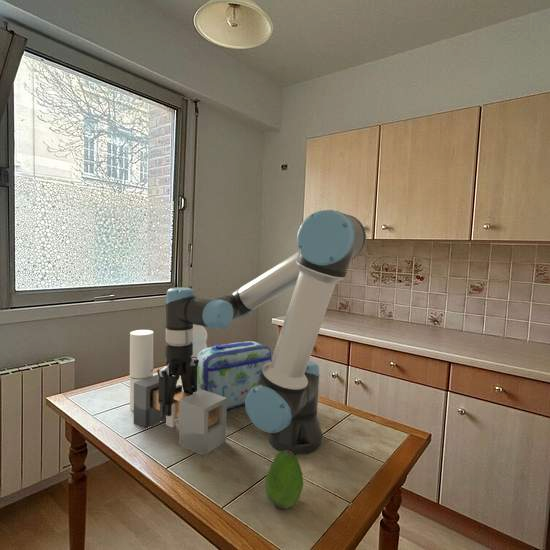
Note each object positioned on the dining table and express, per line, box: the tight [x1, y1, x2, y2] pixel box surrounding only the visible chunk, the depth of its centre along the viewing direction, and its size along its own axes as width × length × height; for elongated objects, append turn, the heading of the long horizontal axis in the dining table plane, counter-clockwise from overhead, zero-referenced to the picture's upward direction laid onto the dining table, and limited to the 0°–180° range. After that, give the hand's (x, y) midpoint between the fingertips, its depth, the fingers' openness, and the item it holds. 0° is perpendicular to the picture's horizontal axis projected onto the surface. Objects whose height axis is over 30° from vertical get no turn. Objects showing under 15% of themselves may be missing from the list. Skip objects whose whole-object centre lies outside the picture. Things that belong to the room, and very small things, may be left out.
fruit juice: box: [191, 324, 208, 359], centre depth 143 cm, size 9×9×28 cm
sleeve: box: [178, 390, 228, 457], centre depth 101 cm, size 9×9×13 cm
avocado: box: [264, 450, 304, 509], centre depth 79 cm, size 8×8×12 cm
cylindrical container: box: [129, 329, 154, 412], centre depth 121 cm, size 7×7×25 cm
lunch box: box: [195, 340, 272, 410], centre depth 127 cm, size 26×11×21 cm, turn 123°
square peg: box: [153, 384, 219, 428], centre depth 105 cm, size 21×7×7 cm, turn 57°
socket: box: [133, 374, 166, 430], centre depth 113 cm, size 6×9×13 cm, turn 147°
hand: (178, 421), depth 107 cm, fingers closed on square peg, 5 cm apart
